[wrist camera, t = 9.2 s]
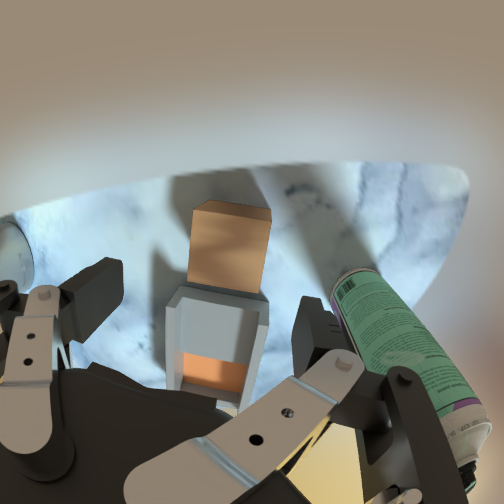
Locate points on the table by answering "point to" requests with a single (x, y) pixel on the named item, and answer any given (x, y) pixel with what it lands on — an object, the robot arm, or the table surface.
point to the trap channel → (214, 344)
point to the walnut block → (228, 245)
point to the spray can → (410, 359)
